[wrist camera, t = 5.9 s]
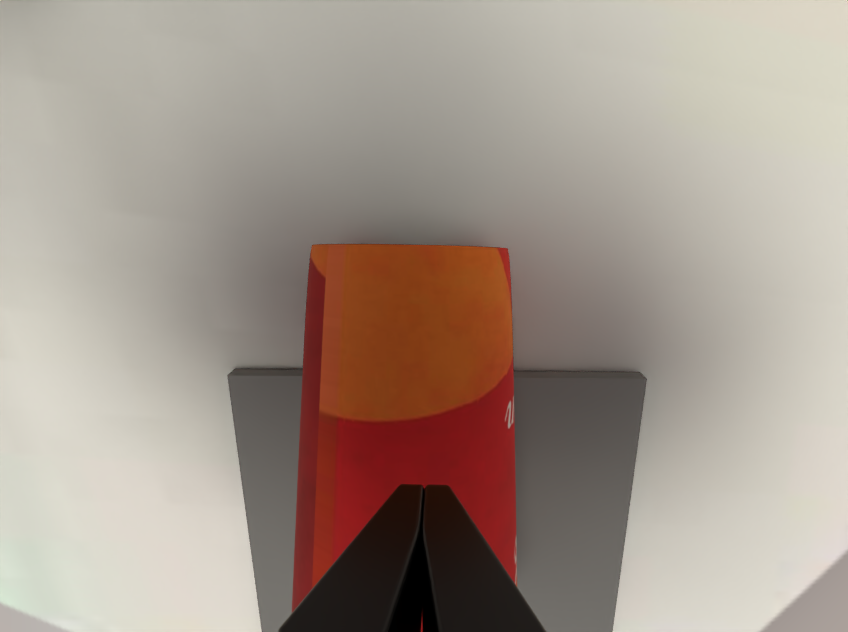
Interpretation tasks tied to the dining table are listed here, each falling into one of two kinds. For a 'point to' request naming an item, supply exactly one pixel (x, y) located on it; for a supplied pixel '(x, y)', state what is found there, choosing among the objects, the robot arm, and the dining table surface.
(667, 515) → the dining table surface
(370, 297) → the paper cup
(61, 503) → the dining table surface
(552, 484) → the mat
